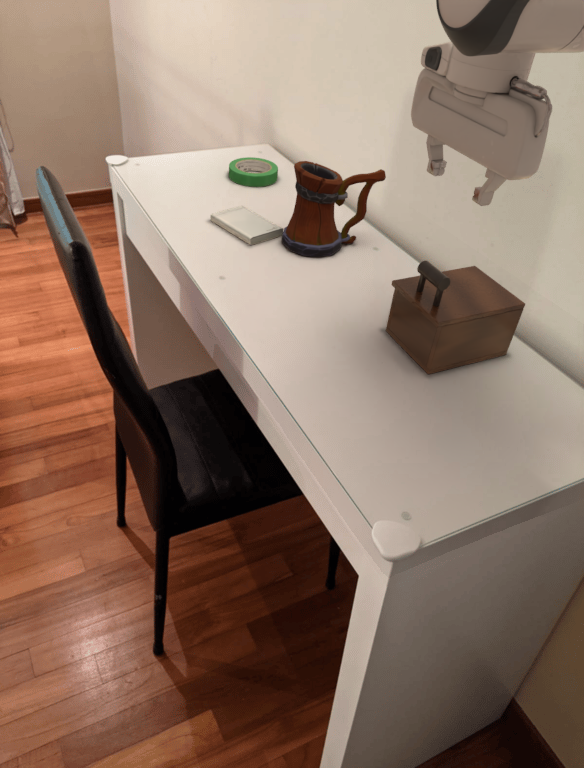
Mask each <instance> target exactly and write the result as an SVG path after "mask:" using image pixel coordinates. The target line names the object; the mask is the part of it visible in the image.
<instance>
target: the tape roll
mask: <svg viewBox="0 0 584 768" xmlns="http://www.w3.org/2000/svg"><path fill="white" fill-rule="evenodd" d="M278 176H279V167H278V165H277V164H276V163H275V162H273V161H271V160H270V159H266V158H261V157H251V156H250V157H249V156H247V157H240V158H239V157H238V158H236V159H234V160H232V161H230V162H229V164H228V178H229V180H230V181H232V182H233V183H235V184H237V185H240V186H245V187H250V188H261V187H262V188H263V187H268V186H271V185H274V184H275V183H276V182H278Z"/></svg>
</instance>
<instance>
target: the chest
mask: <svg viewBox="0 0 584 768" xmlns="http://www.w3.org/2000/svg"><path fill="white" fill-rule="evenodd" d="M523 312H524V308H522V309H518V310H513V311H509V312H504V313H500V314H495V315H491V316H486V317H482V318H477V319H473V320H468V321H464V322H459V323H455V324H450V325H446V326H441V327H436V326H435V325H434V324H433V323H432V322H431V321H430V320H429V319H428V318H427V317H426V316H425V315H423V314H422V313H421V312H420V311H419V310H418V309H417V308H416V307H415V306H414V305H413V304H412V303H410V302H409V301H408V300H407V299H406V298H405V297H404V296H403V295H402V294H401V293H400V292H398V291H397V290H396V289H395V288H394V289H393V295H392V300H391V304H390V309H389V312H388V313H389V314H388V318H387V322H386V326H385V332H386V333H387V334H388V335H389V336H390V337H391V338H392V339H393V341H395V342H396V343H397V344H398V345H399V346H400V347H401V348H402V349H403V350H404V351H405V352H406V353H407V354H408V356H410V358H412V359H413V360H414V362H416V364H417V365H418V366H419V367H421V369H422V370H423V371H424V372H425V373H426V374H427V375H432V374H435V373H438V372H439V373H440V372H443V371H448V370H452V369H455V368H459V367H463V366H467V365H470V364H474V363H479V362H482V361H487V360H490V359H494V358H499V357H502V356H506V355H507V353H508V351H509V349H510V345H511V343H512V340H513V338H514V336H515V333H516V330H517V328H518V325H519V322H520V320H521V318H522V315H523Z"/></svg>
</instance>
